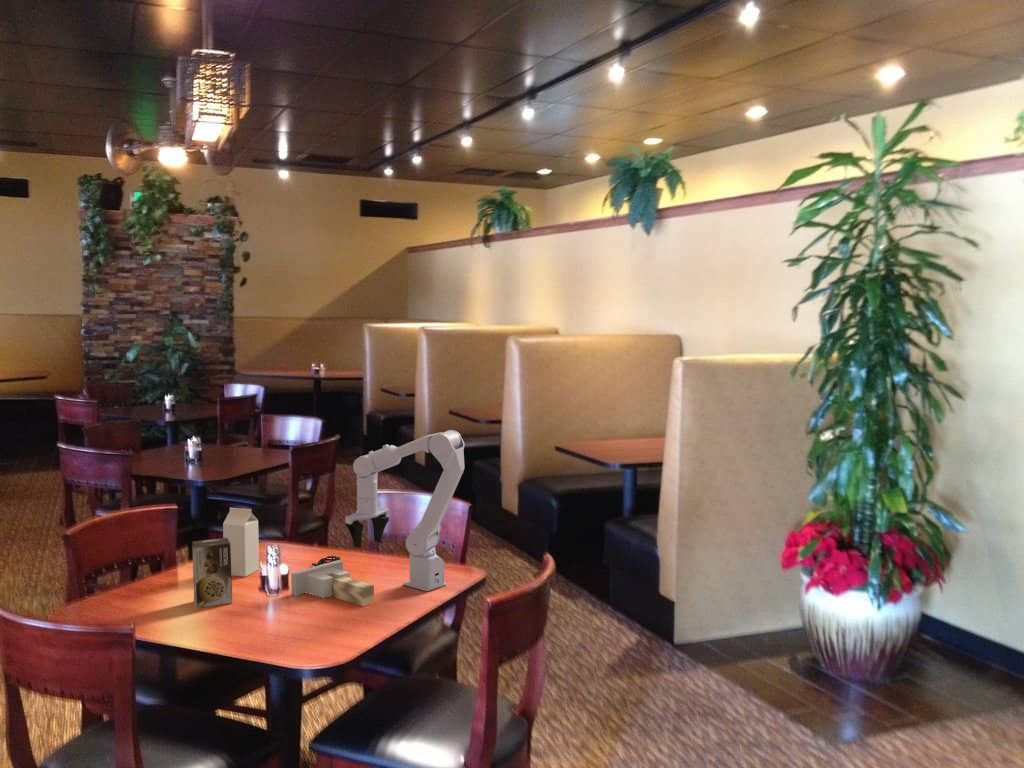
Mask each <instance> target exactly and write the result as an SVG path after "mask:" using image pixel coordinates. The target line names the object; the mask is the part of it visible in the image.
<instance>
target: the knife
mask: <svg viewBox="0 0 1024 768" xmlns="http://www.w3.org/2000/svg"><path fill="white" fill-rule="evenodd" d="M327 558H332V559H327ZM333 558H335V559H333ZM338 559H340V560H341V557H340V556H335V555H327V556H326V557H323V558H322V557H321V558H320V559H319V560H318V562H317V563H313V562H311V566H319V565H321V564H322V563H323V564H325V563H330V562H333V561H337V560H338ZM321 562H322V563H321Z"/></svg>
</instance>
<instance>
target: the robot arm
mask: <svg viewBox="0 0 1024 768" xmlns="http://www.w3.org/2000/svg"><path fill="white" fill-rule="evenodd" d="M465 446H466V443H465V442H464V440H463V438H462V436H461V433H460V432H458V431H456V430H454V429H448V430H446V431H444V432H443V431H441V432H436V433H433V434H432V433H431V434H427V435H424V436H421V437H419V438H417V439H415V440H413V441H410V442H406V443H404V444H403V445H400V446H396V445H393V444H390V445H389V444H383V446H382V448H379V449H378V450H375V451H374V450H370V451H368V454H365V455H361V456H359V457H357V458H356V459H355V460H354V461H353V464H352V467H353V472H354V474H356V499H357V500H356V511H355V512H354V513H351V514H350V515H345V520H344V521H345V526H346V528H347V530H348V531H349V533H350V537H351V539H352V543H353V547H355V548H361V547H362V534H363V530H364V526H365V524H362V523H361V522H362V521H367V520H370V519H371V523H372V530H373V540H374V542H375V543H376V542H377V543H382V539H383V534H384V531H385V529H386V526H387V524H388V522H389V521H390V517H389V511H390V510H389V508H387V507H382V508H378V507H379V506H378V505H379V504H378V503H379V502H378V501H379V500H378V499H379V498H378V478H379V477H378V474H379V472H381V471H384V470H387V469H390V468H393V467H395V466H397V465H399V464H400V463H401V460H402V458H404V457H407V456H410V455H413V454H417V453H418V452H422V451H423V452H425V453H428V454H430V453H431V454H432V455H433V456H434V458H435V459H436V460H437V461H438V462H439V463H440V465H441V468H442V469H443V471H442V473H441V475H440V478H439V479H438V482H437V484H436V486H435V489H434V491H433V493H432V495H431V497H430V499H429V501H428V502H429V503H428V504H427V507H426V509H425V511H424V513H423V516H422V518H421V520H420V521H419V522H418V523H417V525H416V526H415V527H414V529H413V531H412V533H410V534H408V536H407V538H406V539H405V547H406V550H407V551H408V553H409V580H408V581H406V582H405V581H404V582H403V583H402V585H404V586H407V587H411V588H413V589H417V590H421V591H425V592H429V591H432V590H435V589H437V588H441V587H444V586H447V583H446V582H445V562H444V559H443V558H441V557H440V556H439V555H437V553H436V552H437V550H436V546H437V545H438V543H439V542H440V532H441V529H442V527H441V523H442V520H443V518H444V516H445V513H446V512H447V509H448V507H449V505H450V503H451V500H452V498H453V496H454V493H455V491H456V489H457V487H458V485H459V483H460V480H461V477H462V475H463V474H464V470H465V455H464V451H465V450H464V449H465Z"/></svg>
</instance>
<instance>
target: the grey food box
mask: <svg viewBox="0 0 1024 768" xmlns="http://www.w3.org/2000/svg"><path fill="white" fill-rule="evenodd" d="M191 544H192V545H191V546H192V571H193V572H192V578H193V579H192V581H193V601H194V602H193V603H194V605H196V606H195V608H196V609H201V607H202V608H209V607H213V606H221V605H228V604H233V602H234V601H233V580H232V579H233V576H232V573H231V543H230V542H229V540H228V538H223V537H221V538H212V539H204V540H196V541H192V543H191Z"/></svg>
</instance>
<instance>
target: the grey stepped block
mask: <svg viewBox="0 0 1024 768" xmlns="http://www.w3.org/2000/svg"><path fill="white" fill-rule="evenodd" d="M290 573H291V577H290V578H291V583H290V584H291V596H294V595H295V596H294V597H299V596H301V594H302V595H304V594H303V593H306V592H307V593H306V594H308V593H311V594H313V595H312V596H314V595H316V596H315V597H317V596H319V597H318V598H320V597H321V599H323V598H324V599H326V598H325V597H327V598H329V596H330V597H333V596H332V595H334V592H333V578H339V577H342V576H345V577H348V578H351V575H350V571H346V570H344V562H343V560H337V561H333V562H329V563H326V564H325V563H323V564H322V563H321V564H320V565H319V566H315V567H312V566H311V567H308V568H304V569H300V570H297V571H293V572H290ZM311 594H310V595H311ZM298 595H299V596H298Z"/></svg>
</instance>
